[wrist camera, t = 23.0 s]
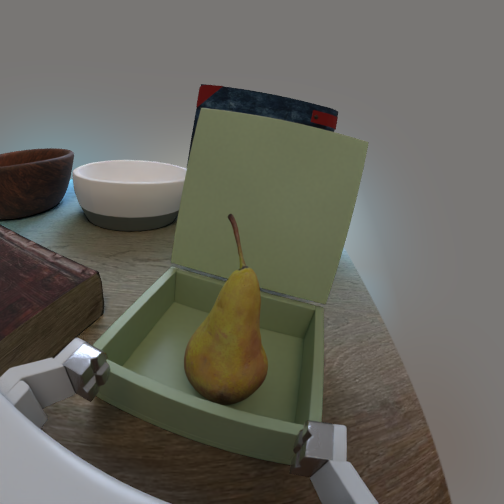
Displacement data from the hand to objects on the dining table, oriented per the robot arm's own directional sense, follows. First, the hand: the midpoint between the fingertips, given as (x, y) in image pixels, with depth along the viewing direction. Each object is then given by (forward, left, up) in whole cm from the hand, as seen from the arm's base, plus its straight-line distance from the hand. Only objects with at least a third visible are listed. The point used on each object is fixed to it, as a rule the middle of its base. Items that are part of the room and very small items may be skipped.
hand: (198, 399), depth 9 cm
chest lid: (+1, -17, +3) cm, 17 cm away
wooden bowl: (+52, -27, -9) cm, 59 cm away
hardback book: (+28, -2, -9) cm, 29 cm away
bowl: (+27, -36, -9) cm, 46 cm away
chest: (+1, -9, -8) cm, 12 cm away
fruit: (0, -7, -8) cm, 10 cm away
